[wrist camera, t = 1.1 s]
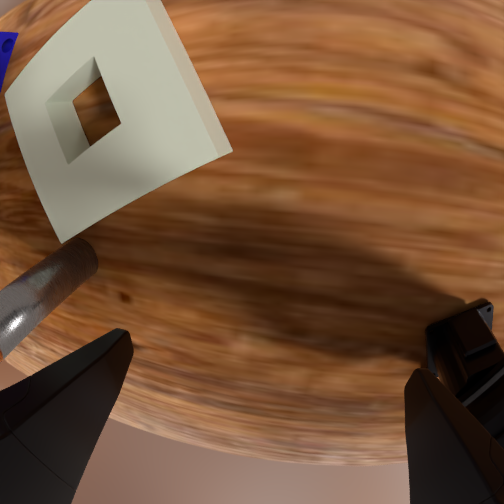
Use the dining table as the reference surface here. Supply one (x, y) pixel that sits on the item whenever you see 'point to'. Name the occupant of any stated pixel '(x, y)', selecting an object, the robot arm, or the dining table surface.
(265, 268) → the dining table surface
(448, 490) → the robot arm
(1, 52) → the blue cradle bracket
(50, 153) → the block
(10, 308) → the steel pin
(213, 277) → the dining table surface
